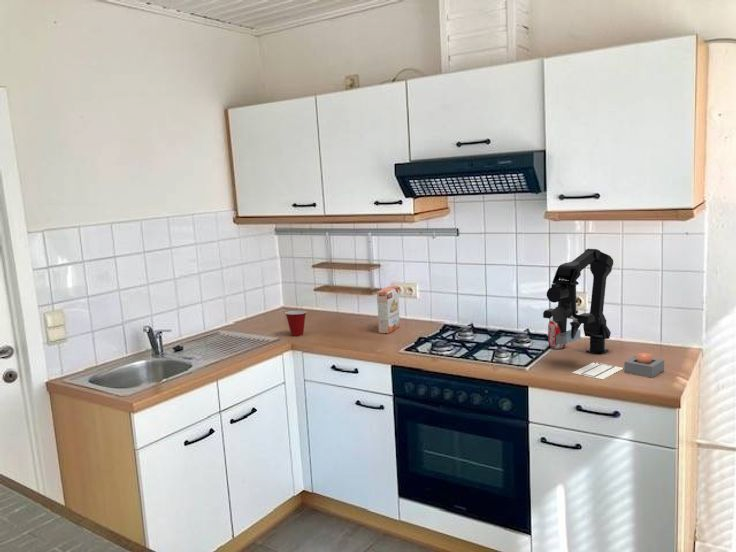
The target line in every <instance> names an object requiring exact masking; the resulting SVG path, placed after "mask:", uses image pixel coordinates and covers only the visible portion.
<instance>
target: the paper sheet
mask: <svg viewBox="0 0 736 552" xmlns="http://www.w3.org/2000/svg"><path fill="white" fill-rule="evenodd" d="M594 362H595V361H594ZM594 362H591V363H589V364H587V365H585V366H583V367H581V368H579V369H577V370H575V371H572V372H571V374H575V375H580V376H584V377H587V378H588V377H589V378H593V379H598V380H605V379H608V378H609V377H611V376H613V375H615V374H617V373H619V372H621V371H622V370H624V369H623V368H624V367H620V366H615V365H610V364H606V363H601V362H596V364H595V363H594ZM598 363H600V364H598ZM618 371H619V372H618ZM616 372H617V373H616ZM614 373H615V374H614Z"/></svg>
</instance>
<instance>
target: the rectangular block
mask: <svg viewBox="0 0 736 552" xmlns="http://www.w3.org/2000/svg"><path fill="white" fill-rule="evenodd" d="M579 339H581V329H578V330H577V333H576V335H575V337H574V339H572V338H571V329H569V330H566V332H563V333H561V334H558V335H556V344H562V345H565V344H566V345H567V344H569V343H571V342H574V341H577V340H579ZM566 345H565V346H566Z"/></svg>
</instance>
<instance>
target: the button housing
mask: <svg viewBox="0 0 736 552" xmlns="http://www.w3.org/2000/svg"><path fill="white" fill-rule="evenodd" d="M623 368H624V369H623V372H624V373H625V372H628V373H627V374H630V373H633V374H632V375H635V374H638V375H637V376H640V375H642V376H641V377H645V376H647V377H646V378H650V377H652V378H654V377H656V376H657V374H658V375H659V374H661V373H663V372H664V371H665V360H664V359H660V358H655V357H652V363H651V364H644V363H638V362H637V355H635V356H633V357H631V358H629V359H627V360H625V361H624V365H623ZM662 371H663V372H662ZM660 372H661V373H660ZM655 375H656V376H655Z"/></svg>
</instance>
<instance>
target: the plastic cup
mask: <svg viewBox="0 0 736 552" xmlns="http://www.w3.org/2000/svg"><path fill="white" fill-rule="evenodd" d="M307 313H308V312H307V310H289V311H285V312H284V314H285V316H286V319H287V323H288V328H289V331H290V334H291V336H292V337H301V336H303V335H304V330H305V320H306V314H307ZM300 335H301V336H300Z"/></svg>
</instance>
